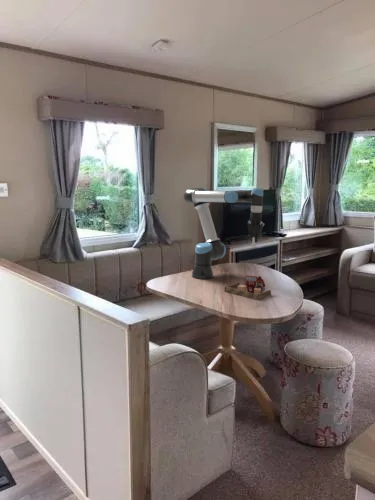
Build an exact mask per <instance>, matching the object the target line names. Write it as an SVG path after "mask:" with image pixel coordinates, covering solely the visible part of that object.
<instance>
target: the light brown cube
mask: <svg viewBox="0 0 375 500" xmlns="http://www.w3.org/2000/svg"><path fill="white" fill-rule="evenodd" d="M236 289H238V290H242V291H246V292H247V286H246V285H244V284H240V285H239V286H238V287H237V288H236Z"/></svg>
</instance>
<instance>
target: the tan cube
mask: <svg viewBox="0 0 375 500" xmlns="http://www.w3.org/2000/svg"><path fill="white" fill-rule="evenodd" d="M253 293H254V294H260V293H261V288H254V291H253Z"/></svg>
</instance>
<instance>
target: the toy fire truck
mask: <svg viewBox="0 0 375 500" xmlns="http://www.w3.org/2000/svg"><path fill="white" fill-rule="evenodd" d="M245 286H247V290H246V292H250V293H254V288H261V293H263V292H265V291H266V284H265V281H264V279H263V278H262V276H261V275H259V276H256V275H246V276H245Z"/></svg>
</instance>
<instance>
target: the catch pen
mask: <svg viewBox="0 0 375 500" xmlns="http://www.w3.org/2000/svg"><path fill="white" fill-rule="evenodd" d="M239 285H241V284H240V282H236V283H232V284H230V285H226V286H224V292H227V293H229V294H234V295H237V296H240V297H244V298H248V299H252V300H256V301H259V300H261V299H264V298H267V297H268V296H269V297H270V296H271V293H272V290H271V289H269V290H265V291H262V293H260V294H254V292H253V293H250V292H248V291H247V290H246V291H242V290H238V289H237V287H238V286H239Z"/></svg>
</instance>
